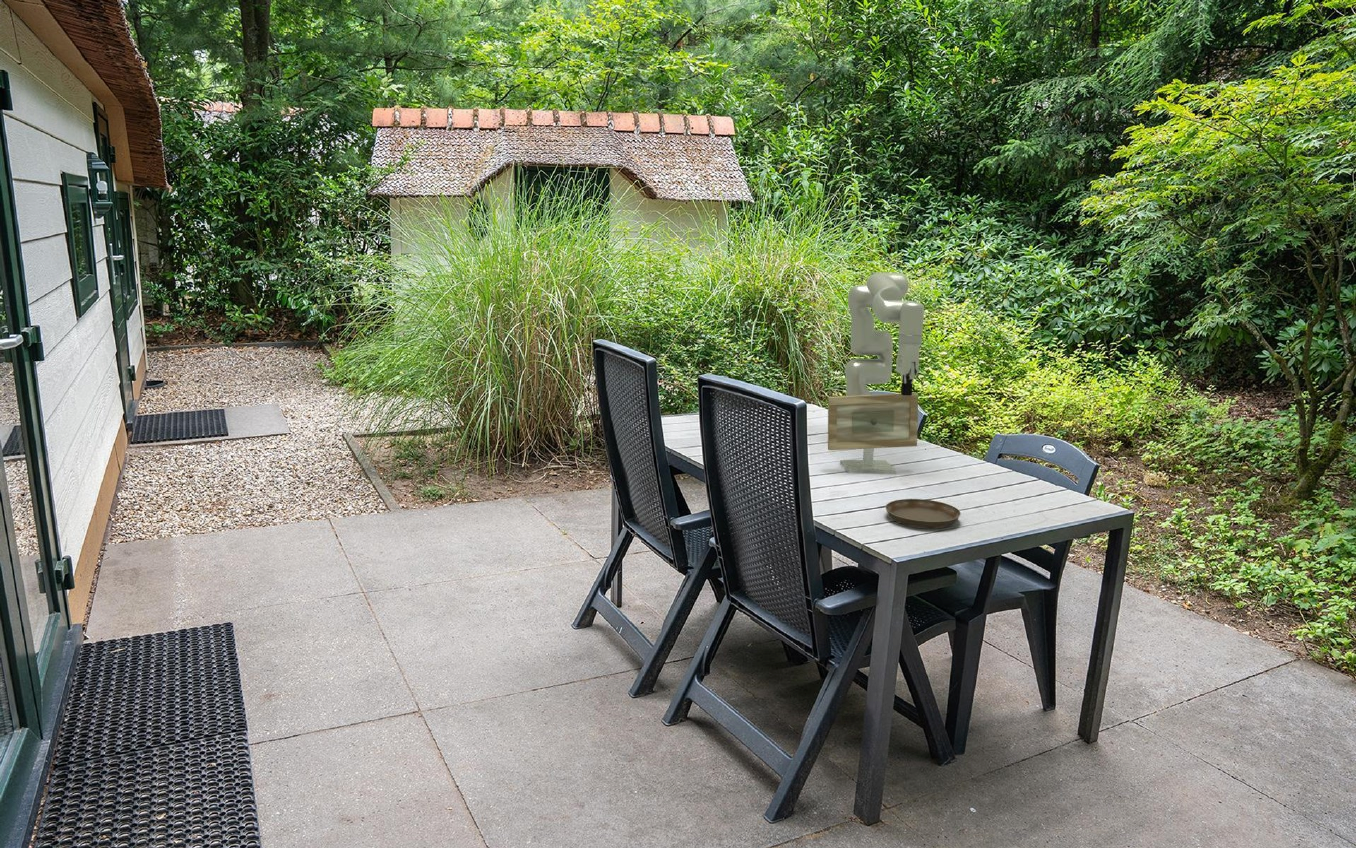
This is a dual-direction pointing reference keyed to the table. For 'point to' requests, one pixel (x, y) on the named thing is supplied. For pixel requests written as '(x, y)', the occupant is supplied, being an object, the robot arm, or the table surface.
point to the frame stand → (868, 464)
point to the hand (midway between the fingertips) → (906, 394)
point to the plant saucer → (922, 513)
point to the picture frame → (872, 421)
